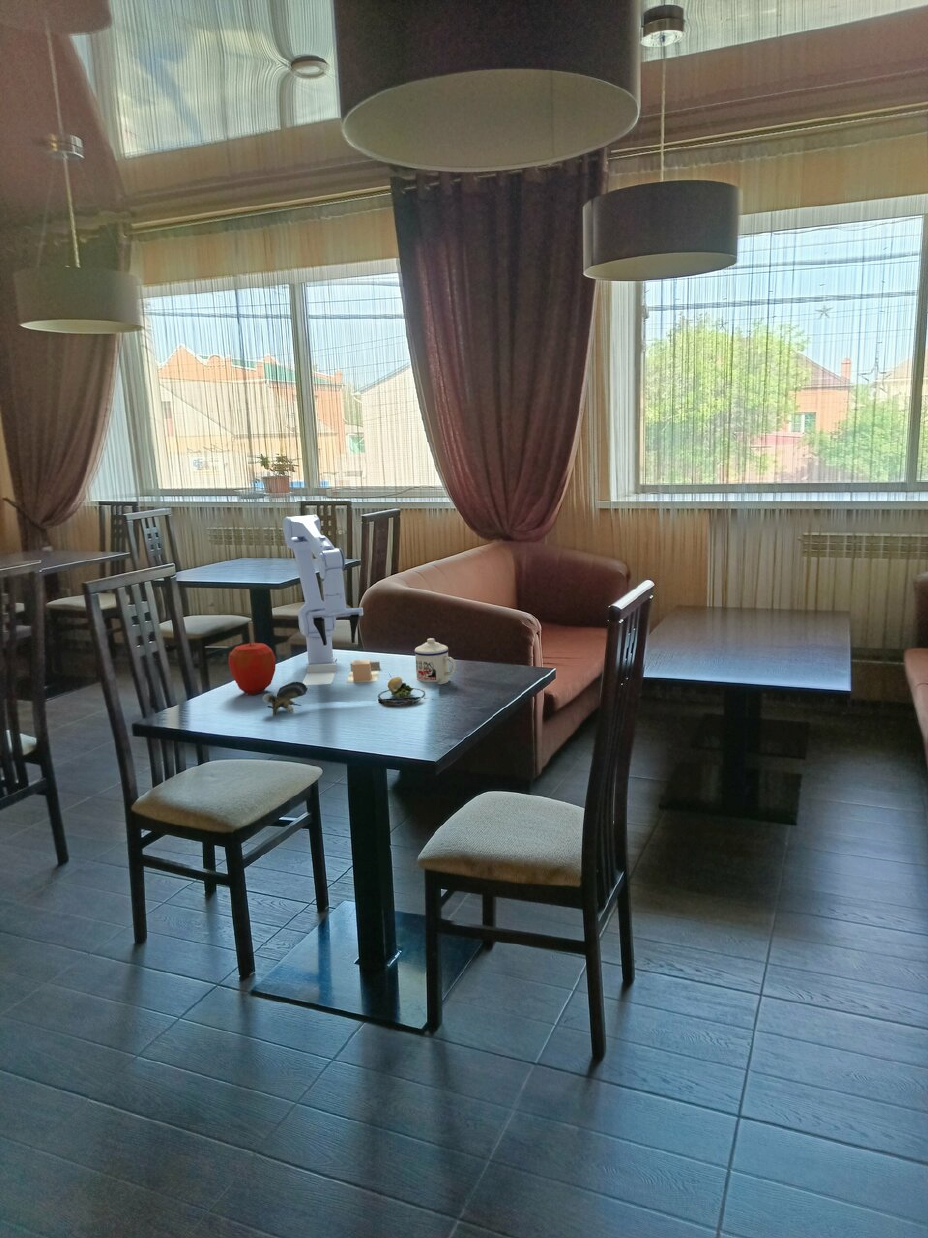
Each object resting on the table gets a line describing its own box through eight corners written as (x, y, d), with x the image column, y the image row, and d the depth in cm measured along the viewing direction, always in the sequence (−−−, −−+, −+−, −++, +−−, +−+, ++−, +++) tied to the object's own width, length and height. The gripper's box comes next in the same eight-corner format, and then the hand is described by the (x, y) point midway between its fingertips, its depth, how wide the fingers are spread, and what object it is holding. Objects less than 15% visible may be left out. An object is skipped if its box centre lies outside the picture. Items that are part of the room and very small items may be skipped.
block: (354, 676, 235) (353, 660, 234) (371, 675, 235) (370, 659, 234) (353, 681, 230) (352, 664, 230) (370, 680, 231) (369, 663, 230)
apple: (272, 698, 223) (267, 644, 220) (226, 700, 223) (220, 646, 220) (283, 685, 235) (278, 634, 232) (239, 686, 235) (233, 636, 232)
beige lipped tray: (351, 672, 243) (350, 662, 242) (380, 671, 243) (379, 660, 243) (346, 686, 229) (345, 675, 229) (377, 684, 230) (376, 673, 229)
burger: (418, 708, 209) (417, 678, 208) (371, 707, 212) (369, 678, 210) (430, 694, 221) (428, 665, 219) (385, 693, 223) (384, 665, 222)
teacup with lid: (409, 683, 230) (406, 641, 228) (429, 675, 237) (427, 633, 235) (445, 689, 223) (443, 645, 221) (466, 680, 230) (463, 637, 228)
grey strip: (308, 675, 243) (307, 664, 242) (337, 673, 243) (336, 663, 242) (301, 689, 229) (300, 678, 228) (331, 687, 229) (330, 676, 229)
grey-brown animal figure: (293, 713, 205) (315, 695, 213) (273, 688, 204) (296, 670, 212) (273, 727, 209) (295, 709, 217) (253, 702, 209) (277, 685, 217)
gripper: (305, 598, 231) (310, 648, 233) (359, 593, 231) (364, 643, 233) (309, 595, 238) (314, 644, 240) (361, 590, 238) (366, 639, 240)
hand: (339, 643), depth 237 cm, fingers open, 7 cm apart
